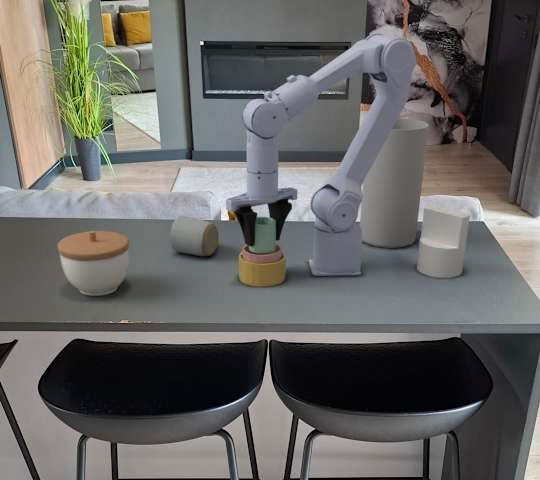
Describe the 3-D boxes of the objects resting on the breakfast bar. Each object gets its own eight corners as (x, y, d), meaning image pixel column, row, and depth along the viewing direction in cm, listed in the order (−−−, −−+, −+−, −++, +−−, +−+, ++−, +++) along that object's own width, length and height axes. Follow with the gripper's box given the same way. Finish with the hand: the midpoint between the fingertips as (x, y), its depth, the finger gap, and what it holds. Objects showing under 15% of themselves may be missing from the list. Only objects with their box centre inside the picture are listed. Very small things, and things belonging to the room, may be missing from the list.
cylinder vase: (382, 252, 151) (393, 132, 139) (347, 235, 160) (355, 121, 148) (427, 243, 156) (441, 126, 144) (391, 227, 166) (402, 116, 154)
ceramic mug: (205, 262, 145) (204, 225, 142) (170, 256, 148) (168, 220, 144) (227, 246, 154) (226, 212, 150) (193, 241, 156) (192, 207, 153)
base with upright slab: (408, 269, 143) (414, 211, 137) (431, 257, 149) (438, 201, 143) (447, 281, 137) (455, 221, 132) (470, 268, 143) (479, 211, 137)
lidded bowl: (59, 280, 136) (51, 225, 131) (125, 271, 140) (119, 217, 135) (69, 306, 126) (60, 247, 121) (139, 296, 130) (134, 238, 125)
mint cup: (274, 244, 138) (274, 216, 135) (276, 253, 133) (276, 225, 131) (248, 244, 138) (248, 216, 135) (249, 253, 133) (249, 225, 130)
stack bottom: (283, 268, 143) (283, 247, 140) (286, 286, 135) (287, 264, 133) (238, 269, 142) (238, 248, 140) (239, 287, 134) (239, 264, 132)
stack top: (279, 270, 142) (280, 241, 139) (282, 285, 135) (283, 255, 132) (242, 270, 142) (242, 241, 139) (243, 285, 135) (243, 255, 132)
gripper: (283, 160, 135) (282, 229, 141) (216, 170, 128) (218, 242, 134) (304, 168, 130) (302, 239, 136) (236, 179, 122) (238, 253, 129)
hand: (262, 241), depth 135 cm, fingers closed on mint cup, 5 cm apart
